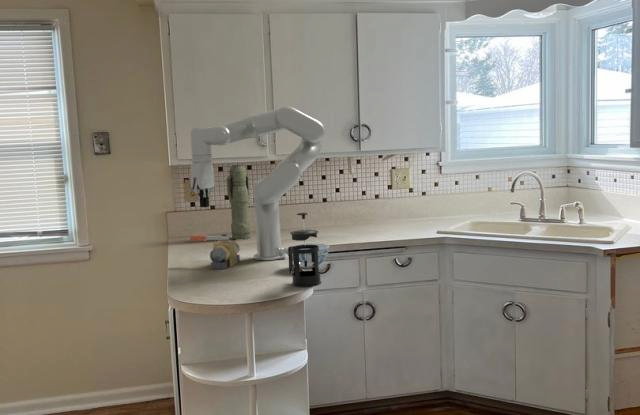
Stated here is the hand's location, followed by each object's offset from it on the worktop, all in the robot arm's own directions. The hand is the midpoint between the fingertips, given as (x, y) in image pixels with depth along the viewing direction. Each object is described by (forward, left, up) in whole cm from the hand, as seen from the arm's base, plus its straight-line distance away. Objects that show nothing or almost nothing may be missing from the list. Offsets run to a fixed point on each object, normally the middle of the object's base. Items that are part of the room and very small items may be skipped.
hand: (204, 206), depth 250 cm
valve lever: (-4, +5, -12) cm, 14 cm away
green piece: (+10, -57, -22) cm, 62 cm away
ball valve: (-10, +5, -22) cm, 24 cm away
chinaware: (-44, +8, -22) cm, 50 cm away
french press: (-50, +32, -22) cm, 63 cm away
